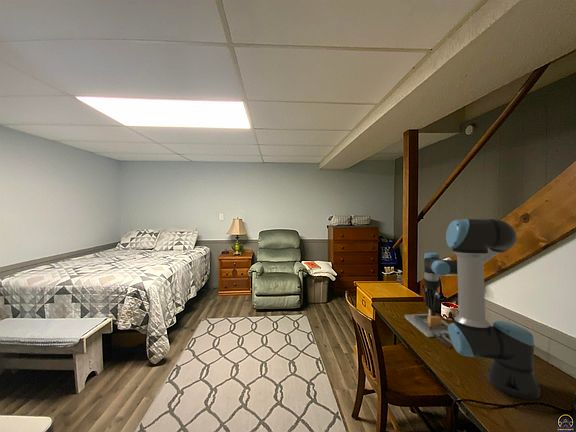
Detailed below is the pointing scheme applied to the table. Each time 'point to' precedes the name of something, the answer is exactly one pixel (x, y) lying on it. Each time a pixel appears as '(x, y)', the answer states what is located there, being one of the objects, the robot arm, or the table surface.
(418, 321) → the panel
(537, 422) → the table surface
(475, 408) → the table surface
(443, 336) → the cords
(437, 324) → the light brown block
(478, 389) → the table surface
